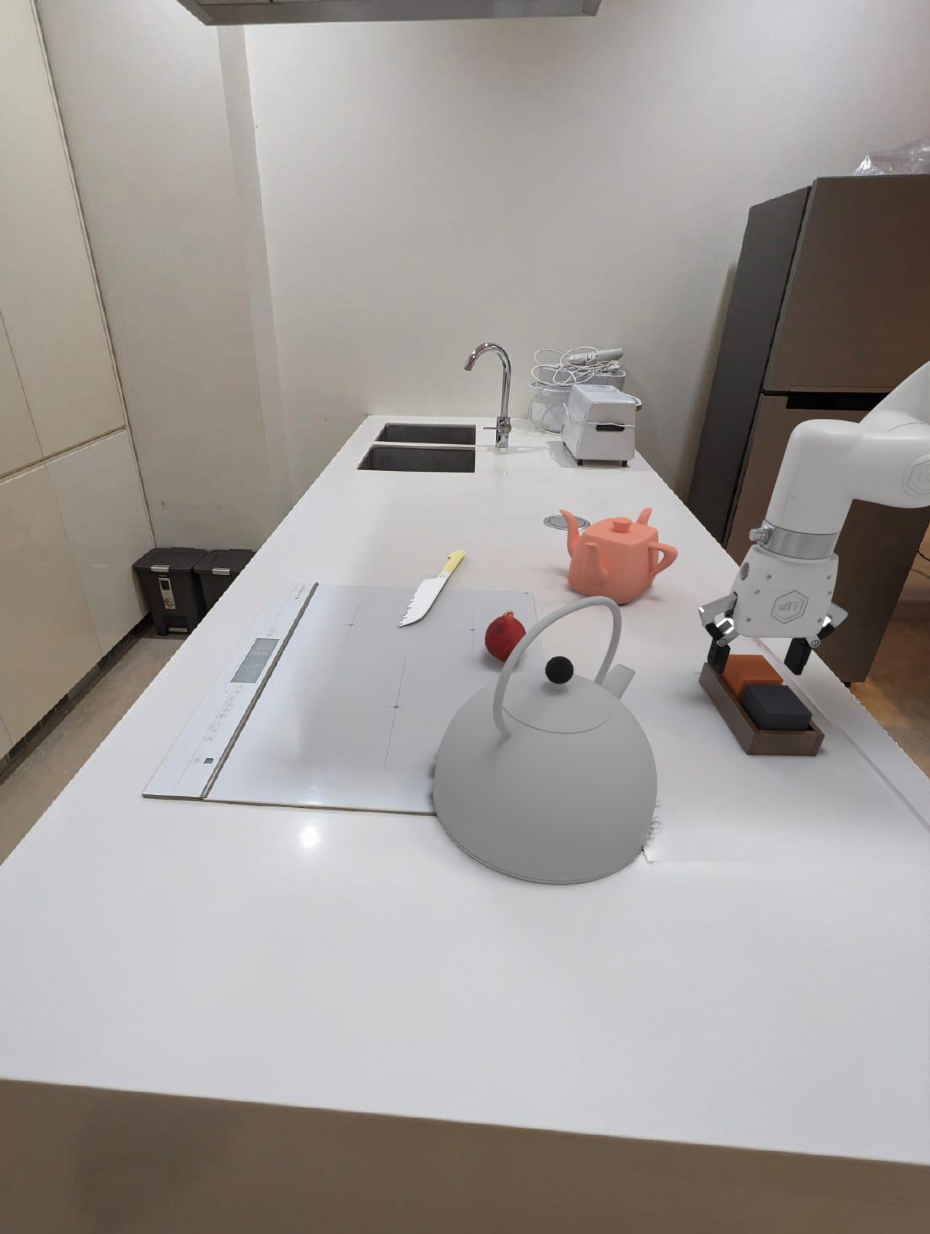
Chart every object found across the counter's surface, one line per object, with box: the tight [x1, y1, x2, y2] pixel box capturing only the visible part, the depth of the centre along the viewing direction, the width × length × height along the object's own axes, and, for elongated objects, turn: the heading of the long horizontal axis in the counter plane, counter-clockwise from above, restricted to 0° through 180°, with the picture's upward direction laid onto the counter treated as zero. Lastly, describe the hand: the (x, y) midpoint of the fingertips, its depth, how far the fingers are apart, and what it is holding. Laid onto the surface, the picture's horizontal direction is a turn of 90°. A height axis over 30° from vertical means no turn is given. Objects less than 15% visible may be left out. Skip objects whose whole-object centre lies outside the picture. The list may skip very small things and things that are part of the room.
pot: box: [558, 507, 679, 605], centre depth 109 cm, size 18×17×12 cm
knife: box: [399, 549, 466, 627], centre depth 111 cm, size 1×33×5 cm
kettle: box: [432, 596, 658, 885], centre depth 61 cm, size 25×23×22 cm
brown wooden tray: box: [698, 661, 826, 757], centre depth 78 cm, size 8×16×4 cm, turn 0°
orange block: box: [719, 653, 784, 703], centre depth 81 cm, size 5×6×5 cm
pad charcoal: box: [740, 684, 814, 731], centre depth 75 cm, size 5×6×5 cm
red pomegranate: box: [484, 609, 527, 663], centre depth 88 cm, size 6×6×8 cm
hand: (753, 669), depth 80 cm, fingers open, 9 cm apart
